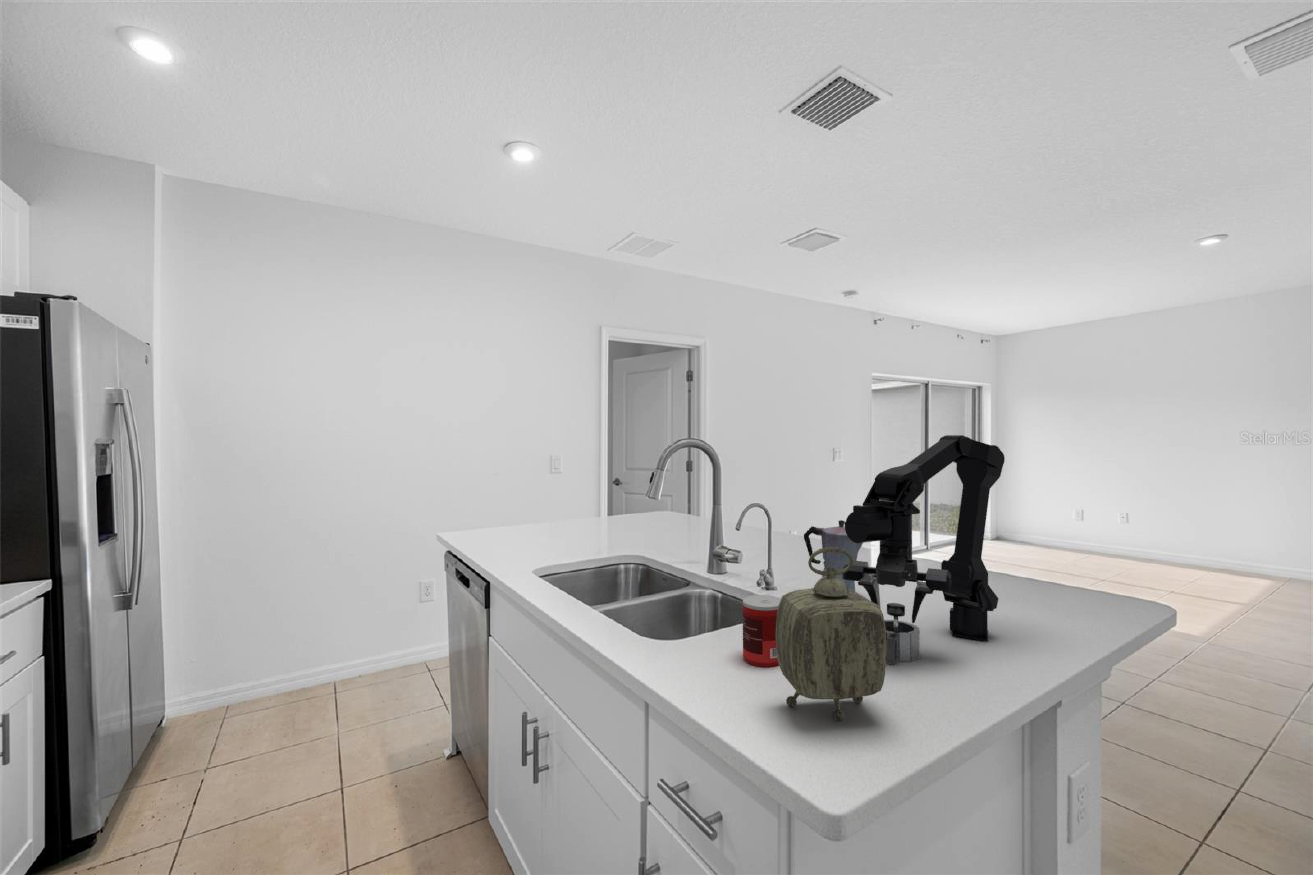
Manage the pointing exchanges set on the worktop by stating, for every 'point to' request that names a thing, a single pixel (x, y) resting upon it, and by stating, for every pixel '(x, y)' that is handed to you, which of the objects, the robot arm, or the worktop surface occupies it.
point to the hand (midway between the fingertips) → (895, 620)
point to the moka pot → (838, 540)
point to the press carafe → (902, 642)
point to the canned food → (760, 630)
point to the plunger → (895, 613)
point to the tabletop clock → (831, 640)
